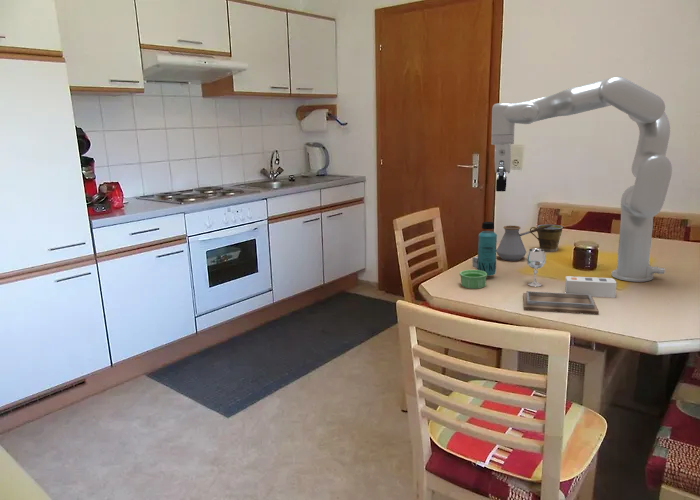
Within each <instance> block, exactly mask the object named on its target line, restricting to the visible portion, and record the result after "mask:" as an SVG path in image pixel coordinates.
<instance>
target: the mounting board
mask: <svg viewBox="0 0 700 500" xmlns="http://www.w3.org/2000/svg"><path fill="white" fill-rule="evenodd" d="M522 294H523V295H522V299H523V310H524V311H531V312H533V311H534V312H549V313H552V312H553V313H567V314H580V313H583V315H584V314H585V315H595V316H596V315H597V316H599V313H600V311H599V309H598V306H597V304H596V302H595V300H594V298H593V297H592V296H591V295H590V294H570V293H565V292H550V291H549V292H547V291H531V290H529V291H526V292H523V293H522Z"/></svg>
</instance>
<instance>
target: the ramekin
mask: <svg viewBox="0 0 700 500" xmlns="http://www.w3.org/2000/svg"><path fill="white" fill-rule="evenodd" d="M459 276H460V283H461V286H462V287H463V288H465V289H471V290H473V289H474V290H477V289H482V288H485V287H486V284H487V282H486V281H487V277H488V276H487V273H486V272H484V271H481V270H478V269H466V270H461V271H460V272H459Z"/></svg>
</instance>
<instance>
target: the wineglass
mask: <svg viewBox="0 0 700 500" xmlns="http://www.w3.org/2000/svg"><path fill="white" fill-rule="evenodd" d="M545 262H546V255H545V251H544V250H543V249H540V248H538V247H536V248H535V247H533V248H529V249H528V253H527V256H526V264H527V266H528V267H530V268H532V269H534V270H533V273H534V276H533V277H534V279H533V281H531V282H528V283H527V285H528V286H530V287H536V288H537V287H541V286H542V283H540V282H538V281H537V280H536V279H537V273H538V270H539V269H541V268H543V267H544V266H545ZM537 269H538V270H537Z"/></svg>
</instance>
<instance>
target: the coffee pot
mask: <svg viewBox="0 0 700 500" xmlns="http://www.w3.org/2000/svg"><path fill="white" fill-rule="evenodd" d="M544 225H545V224H544ZM552 225H553V224H550V225H548V226H546V225H545V226H544V227H539V228H537V227H536V229H534V228H533V229H531V231H530V230H529V231H525V232H522V233H520V229H521V226H519V225H504V226H503V229H504V234H503V236H502V238H501V240H500V241H499V244H498V246H497V247H496V249H497V250H496V256H497V255H498V256H497V257H500V260H503V261H511V262H516V261H521V260H522V258H524V257H526V254H527V251H526V248H525V245H524V243H523V240H522V238H521V237H522V236H524V235H525V236H526V235H528V234H531V233H536V232H537V231H540V230H542V229H545V228H546V229H547V227H551V226H552ZM552 227H553V226H552ZM552 227H551V229H552ZM552 230H553V229H552Z"/></svg>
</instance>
